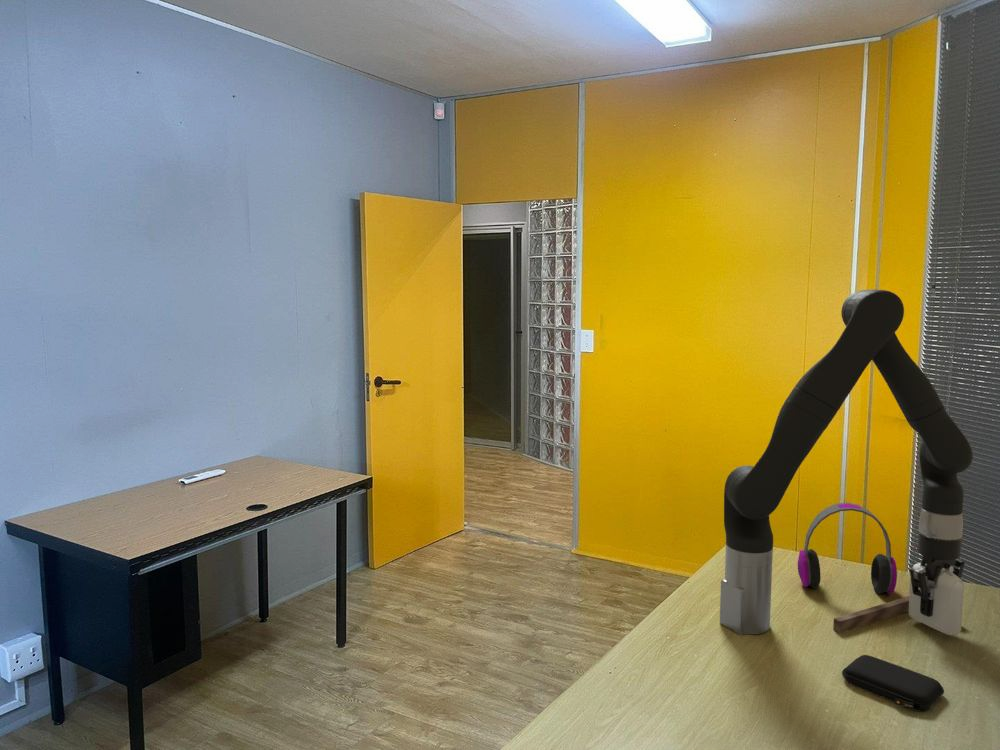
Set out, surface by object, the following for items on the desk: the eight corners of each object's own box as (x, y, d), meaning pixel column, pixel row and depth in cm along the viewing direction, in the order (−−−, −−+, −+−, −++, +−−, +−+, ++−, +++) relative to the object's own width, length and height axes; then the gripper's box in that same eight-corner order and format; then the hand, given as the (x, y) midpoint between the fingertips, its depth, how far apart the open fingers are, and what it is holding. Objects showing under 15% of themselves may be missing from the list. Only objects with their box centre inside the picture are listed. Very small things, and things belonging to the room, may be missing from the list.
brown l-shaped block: (877, 652, 144) (877, 637, 143) (833, 630, 153) (833, 616, 152) (959, 624, 154) (960, 610, 154) (913, 605, 163) (914, 592, 163)
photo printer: (904, 615, 156) (908, 559, 154) (919, 612, 157) (923, 556, 156) (948, 638, 146) (953, 578, 145) (964, 634, 148) (969, 574, 146)
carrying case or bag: (834, 685, 133) (924, 721, 122) (835, 669, 133) (925, 704, 122) (859, 664, 140) (946, 696, 129) (860, 648, 140) (948, 680, 129)
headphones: (888, 585, 174) (894, 502, 171) (899, 601, 166) (905, 514, 163) (794, 577, 179) (797, 497, 176) (800, 593, 170) (804, 508, 168)
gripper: (945, 520, 156) (939, 598, 158) (899, 531, 149) (893, 612, 152) (981, 531, 149) (975, 612, 151) (934, 543, 143) (928, 627, 145)
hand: (934, 612), depth 151 cm, fingers closed on photo printer, 4 cm apart
